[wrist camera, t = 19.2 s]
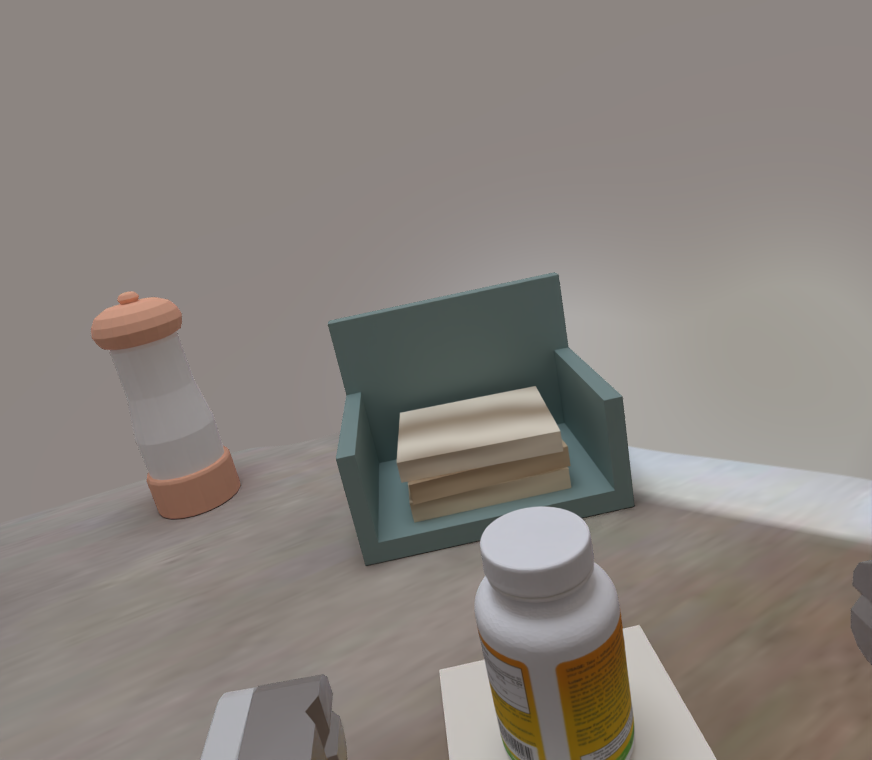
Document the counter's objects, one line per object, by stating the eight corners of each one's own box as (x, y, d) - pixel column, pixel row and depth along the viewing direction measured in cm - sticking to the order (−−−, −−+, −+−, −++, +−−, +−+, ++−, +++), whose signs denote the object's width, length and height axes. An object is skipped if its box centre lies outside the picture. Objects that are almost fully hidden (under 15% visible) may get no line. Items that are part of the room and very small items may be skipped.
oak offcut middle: (570, 465, 42) (567, 446, 42) (413, 504, 42) (408, 485, 41) (533, 418, 51) (530, 402, 50) (402, 450, 50) (398, 433, 50)
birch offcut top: (563, 451, 41) (560, 431, 41) (401, 482, 42) (396, 462, 41) (538, 403, 50) (535, 385, 49) (403, 429, 50) (400, 412, 50)
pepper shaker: (151, 528, 53) (63, 310, 47) (167, 490, 60) (92, 296, 53) (237, 504, 54) (163, 288, 48) (243, 469, 61) (179, 277, 55)
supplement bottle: (633, 685, 27) (610, 492, 24) (639, 806, 22) (612, 583, 19) (511, 679, 29) (475, 497, 26) (493, 791, 24) (445, 583, 21)
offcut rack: (634, 506, 42) (612, 304, 37) (365, 565, 41) (310, 369, 37) (576, 430, 54) (554, 272, 50) (369, 475, 54) (329, 320, 49)
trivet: (756, 848, 21) (756, 828, 21) (470, 914, 21) (465, 895, 21) (641, 641, 31) (639, 624, 30) (443, 685, 31) (439, 670, 30)
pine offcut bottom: (571, 488, 43) (568, 468, 42) (414, 522, 42) (409, 503, 42) (539, 435, 51) (537, 419, 51) (409, 464, 51) (405, 448, 50)
